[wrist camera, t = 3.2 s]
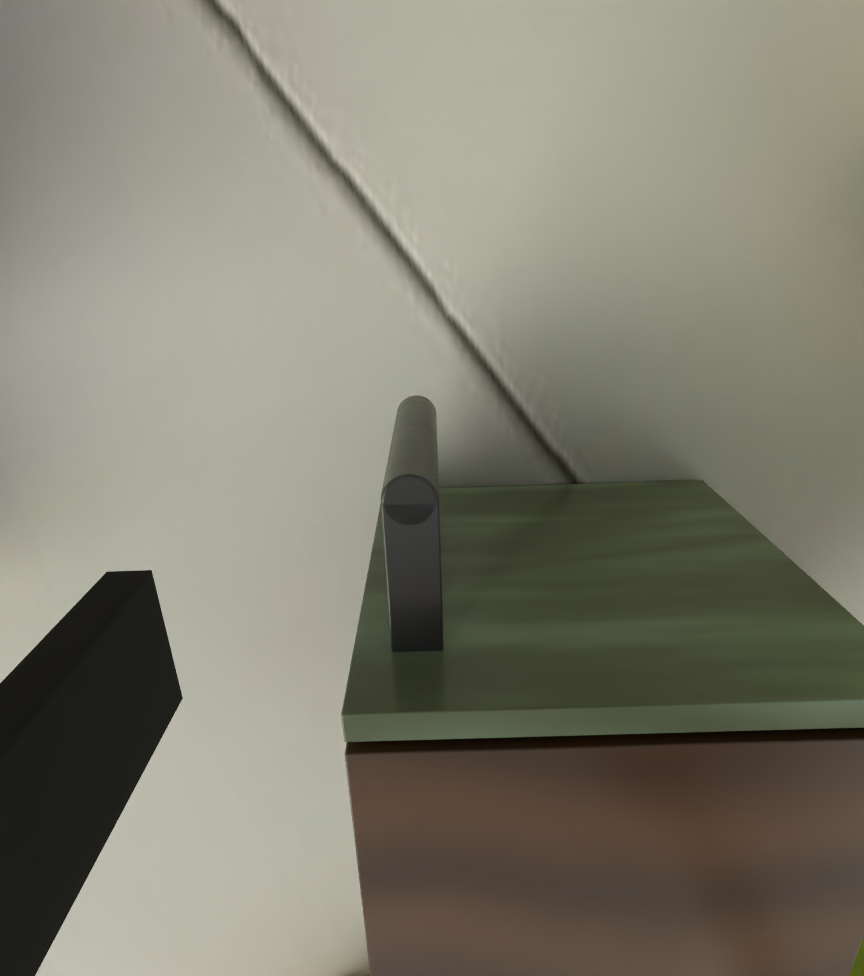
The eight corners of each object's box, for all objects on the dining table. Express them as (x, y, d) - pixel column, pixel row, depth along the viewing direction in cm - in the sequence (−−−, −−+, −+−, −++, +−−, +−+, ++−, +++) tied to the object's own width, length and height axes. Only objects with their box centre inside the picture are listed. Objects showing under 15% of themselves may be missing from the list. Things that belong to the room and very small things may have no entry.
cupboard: (384, 511, 32) (344, 754, 17) (697, 500, 31) (935, 737, 17) (396, 683, 36) (373, 999, 21) (673, 675, 36) (845, 988, 21)
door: (375, 375, 29) (318, 517, 14) (718, 363, 29) (1016, 495, 14) (384, 507, 31) (344, 743, 17) (699, 497, 31) (934, 726, 17)
